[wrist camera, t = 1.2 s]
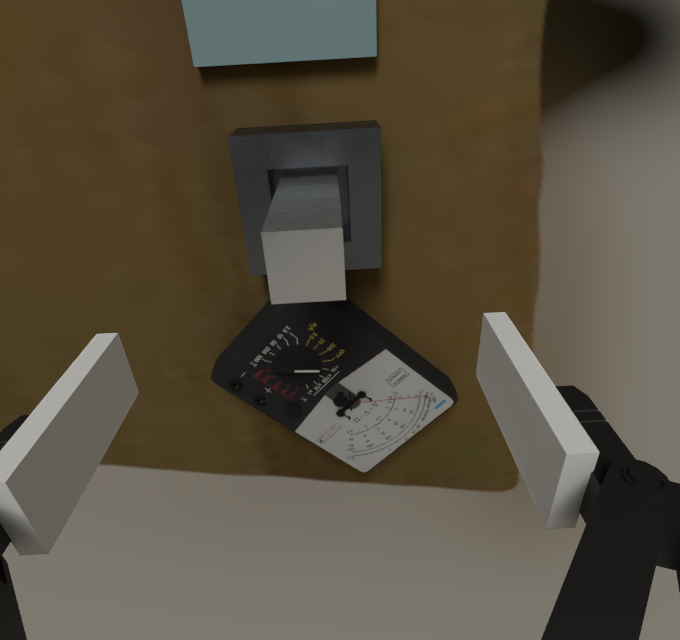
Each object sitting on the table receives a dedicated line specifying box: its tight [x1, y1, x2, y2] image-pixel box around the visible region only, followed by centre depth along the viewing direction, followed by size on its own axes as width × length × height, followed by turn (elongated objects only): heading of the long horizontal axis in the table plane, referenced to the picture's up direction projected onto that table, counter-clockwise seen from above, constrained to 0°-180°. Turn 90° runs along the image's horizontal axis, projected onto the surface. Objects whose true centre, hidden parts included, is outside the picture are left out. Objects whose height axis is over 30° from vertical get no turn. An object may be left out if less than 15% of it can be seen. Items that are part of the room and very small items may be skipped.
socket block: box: [228, 120, 382, 276], centre depth 34 cm, size 10×10×4 cm
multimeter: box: [211, 298, 458, 473], centre depth 42 cm, size 13×19×5 cm
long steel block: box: [261, 169, 346, 304], centre depth 29 cm, size 4×4×13 cm
